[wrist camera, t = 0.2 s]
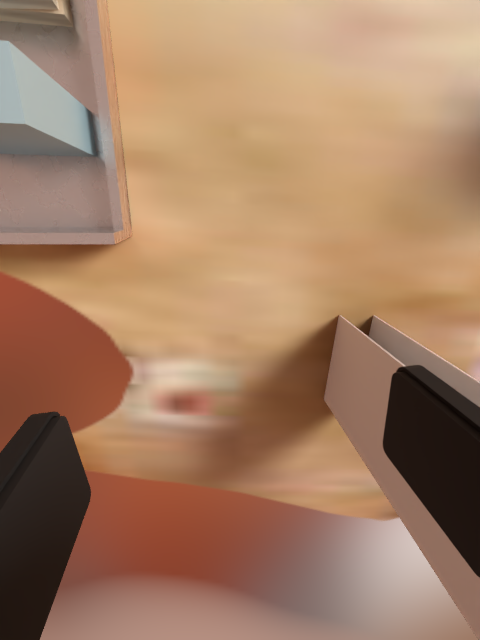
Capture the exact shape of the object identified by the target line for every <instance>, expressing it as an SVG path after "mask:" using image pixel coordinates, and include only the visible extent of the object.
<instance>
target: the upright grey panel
mask: <svg viewBox="0 0 480 640" xmlns="http://www.w3.org/2000/svg"><path fill="white" fill-rule="evenodd" d="M411 365H421V366H423V367H425V368H426V369H427V370H429V371H430V372H432V373H433V374H434V375H436V376H437V377H438V378H440V379H441V380H443V381H444V382H445V383H447V384H448V385H450V386H451V387H452V388H454V389H455V390H456V391H458V392H459V393H461V394H462V395H463V396H465V397H466V398H468V399H469V400H470V401H472V402H473V403H474V404H476V405H477V406H479V407H480V381H478V380H477V379H475V378H473V377H472V376H470V375H469V374H467V373H465V372H464V371H462V370H461V369H459V368H458V367H456V366H454V365H453V364H451V363H450V362H448V361H446V360H445V359H443V358H442V357H440V356H438V355H437V354H435V353H434V352H432V351H431V350H429V349H427V348H426V347H424V346H423V345H421V344H419V343H418V342H416V341H415V340H413V339H412V338H410V337H408V336H407V335H405V334H404V333H402V332H400V331H399V330H397V329H396V328H394V327H392V326H391V325H389V324H388V323H386V322H385V321H383V320H381V319H380V318H378V317H377V316H373V319H372V323H371V328H370V332H369V337H368V336H367V335H366V334H364V333H363V332H362V331H360V330H359V329H358V328H357V327H355V326H354V325H353V324H351V323H350V322H349V321H348V320H346V319H345V318H344V317H342V316H341V315H339V318H338V323H337V329H336V334H335V340H334V345H333V351H332V356H331V362H330V367H329V373H328V379H327V384H326V390H325V395H324V401H325V402H326V404H327V405H328V407H329V408H330V410H331V412H332V413H333V415H334V416H335V418H336V419H337V421H338V422H339V424H340V425H341V427H342V429H343V430H344V432H345V433H346V435H347V436H348V438H349V439H350V441H351V443H352V444H353V446H354V447H355V449H356V450H357V452H358V453H359V455H360V457H361V458H362V460H363V461H364V463H365V464H366V466H367V467H368V469H369V471H370V472H371V474H372V475H373V477H374V478H375V480H376V481H377V483H378V485H379V486H380V488H381V489H382V491H383V492H384V494H385V495H386V497H387V499H388V500H389V502H390V503H391V505H392V506H393V508H394V509H395V511H396V513H397V514H398V516H399V517H400V519H401V520H402V522H403V523H404V525H405V527H406V528H407V530H408V531H409V533H410V534H411V536H412V537H413V539H414V540H415V542H416V543H417V545H418V547H419V548H420V550H421V551H422V553H423V554H424V556H425V558H426V559H427V561H428V562H429V564H430V565H431V567H432V569H433V570H434V572H435V573H436V575H437V576H438V578H439V579H440V581H441V582H442V584H443V586H444V587H445V589H446V590H447V592H448V593H449V595H450V596H451V598H452V600H453V601H454V603H455V604H456V606H457V607H458V609H459V610H460V612H461V614H462V615H463V617H464V618H465V620H466V621H467V623H468V624H469V626H470V628H471V629H472V631H473V632H474V634H475V635H476V637H477V638H478V640H480V578H479V577H478V576H477V575H476V574H475V573H474V572H473V570H472V569H471V568H470V566H469V565H468V564H467V562H466V561H465V560H464V558H463V557H462V556H461V554H460V553H459V552H458V550H457V549H456V548H455V546H454V545H453V544H452V542H451V541H450V540H449V538H448V537H447V536H446V534H445V533H444V532H443V530H442V529H441V528H440V526H439V525H438V524H437V522H436V521H435V520H434V518H433V517H432V516H431V514H430V513H429V512H428V510H427V509H426V508H425V506H424V505H423V504H422V502H421V501H420V500H419V498H418V497H417V496H416V494H415V493H414V492H413V490H412V489H411V488H410V486H409V485H408V484H407V482H406V481H405V480H404V478H403V477H402V476H401V474H400V473H399V472H398V470H397V469H396V468H395V466H394V465H393V464H392V462H391V461H390V460H389V458H388V457H387V455H386V454H385V452H384V449H383V435H384V428H385V421H386V414H387V407H388V400H389V393H390V386H391V378H392V375H393V373H396V371H397V369H398V368H399V367H404V366H411Z"/></svg>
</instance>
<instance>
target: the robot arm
mask: <svg viewBox="0 0 480 640" xmlns="http://www.w3.org/2000/svg"><path fill="white" fill-rule="evenodd" d="M383 449H384V452H385V454H386V455H387V457H388V458H389V460H390V461H391V462H392V464H393V465H394V466H395V468H396V469H397V470H398V472H399V473H400V474H401V476H402V477H403V478H404V480H405V481H406V482H407V484H408V485H409V486H410V488H411V489H412V490H413V492H414V493H415V494H416V496H417V497H418V498H419V500H420V501H421V502H422V504H423V505H424V506H425V508H426V509H427V510H428V512H429V513H430V514H431V516H432V517H433V518H434V520H435V521H436V522H437V524H438V525H439V526H440V528H441V529H442V530H443V532H444V533H445V534H446V536H447V537H448V538H449V540H450V541H451V542H452V544H453V545H454V546H455V548H456V549H457V550H458V552H459V553H460V554H461V556H462V557H463V558H464V560H465V561H466V562H467V564H468V565H469V566H470V568H471V569H472V570H473V572H474V573H475V574H476V575H477V576H478V577H479V578H480V407H479V406H477V405H476V404H474V403H473V402H472V401H470V400H469V399H468V398H466V397H465V396H463V395H462V394H461V393H459V392H458V391H456V390H455V389H454V388H452V387H451V386H450V385H448V384H447V383H445V382H444V381H443V380H441V379H440V378H438V377H437V376H436V375H434V374H433V373H432V372H430V371H429V370H427V369H426V368H425V367H423V366H421V365H411V366H404V367H399V368H398V369H397V371H396V373H393V375H392V378H391V386H390V393H389V400H388V407H387V414H386V421H385V428H384V435H383ZM90 496H91V490H90V486H89V483H88V480H87V477H86V474H85V471H84V468H83V465H82V462H81V459H80V456H79V453H78V450H77V447H76V444H75V441H74V438H73V435H72V432H71V430H70V427H69V424H68V421H67V419H66V417H64V416H60V414H59V413H58V412H48V413H40V414H33V415H31V416H30V417H28V419H27V420H26V421H25V422H24V424H23V425H22V426H21V427H20V429H19V430H18V431H17V432H16V434H15V435H14V436H13V437H12V439H11V440H10V441H9V443H8V444H7V445H6V446H5V448H4V449H3V450H2V451H1V453H0V640H40V637H41V634H42V631H43V629H44V626H45V623H46V620H47V618H48V615H49V612H50V610H51V607H52V604H53V601H54V599H55V596H56V593H57V590H58V587H59V585H60V582H61V579H62V577H63V574H64V571H65V568H66V566H67V563H68V560H69V557H70V554H71V552H72V549H73V546H74V543H75V541H76V538H77V535H78V532H79V530H80V527H81V524H82V521H83V519H84V516H85V513H86V510H87V508H88V505H89V502H90Z"/></svg>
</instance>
